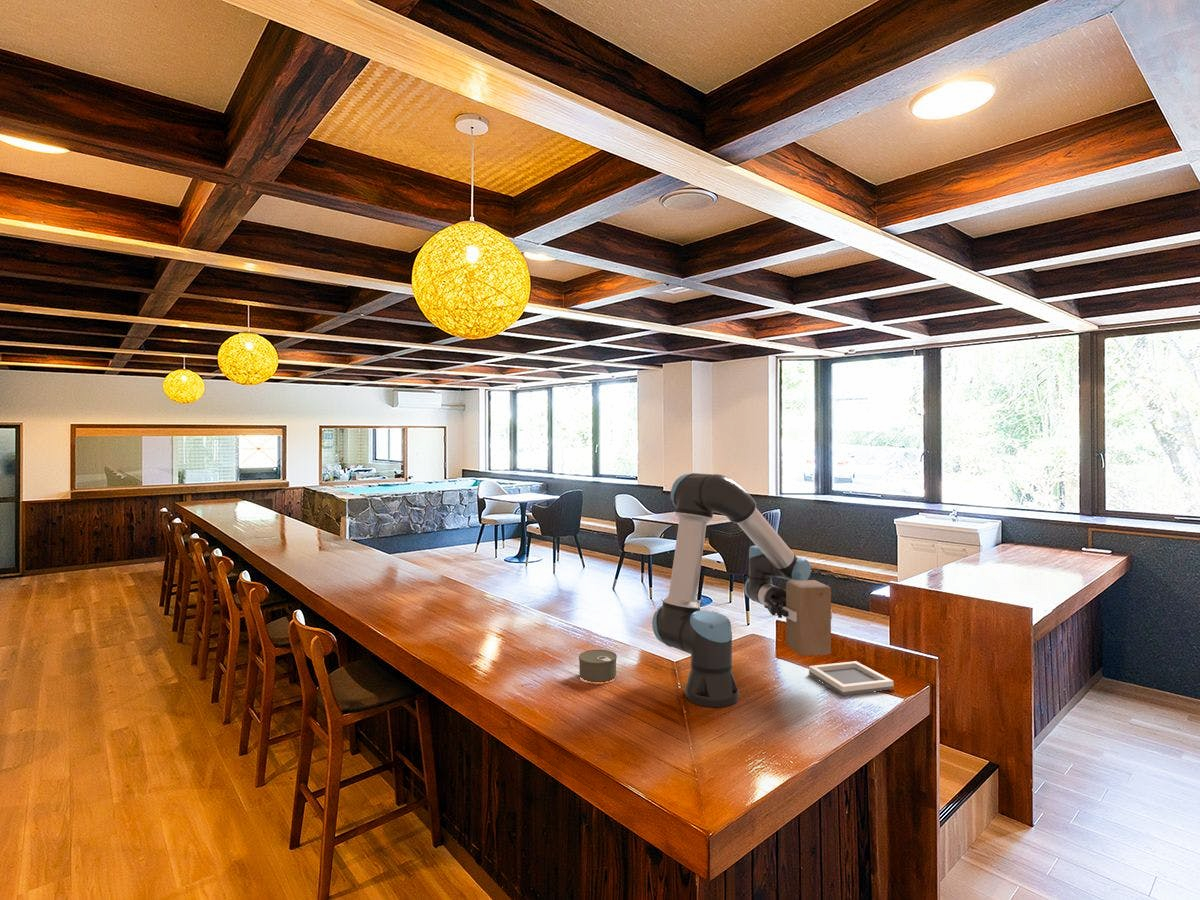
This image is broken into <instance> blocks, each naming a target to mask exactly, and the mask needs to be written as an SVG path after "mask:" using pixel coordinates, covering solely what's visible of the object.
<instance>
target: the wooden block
mask: <svg viewBox="0 0 1200 900" xmlns="http://www.w3.org/2000/svg"><path fill="white" fill-rule="evenodd" d="M785 586H786V587H785V590H786V607H787V608H789V609H791V610H793V611H795V612H797V622H794V621H792V620H790V619H788V618H786V617H785V620H786V621H785V639H786V640H785V641H786V642H785V644H786V646H787V647H788V648H789V649H791V650H792V651H794V652H795V653H796V654H798V655H799V656H819V655H820V656H821V655H822V656H823V655H830V654H831V653H832V619H831V610H832V587H831V586H829V585H827V584H824V583H822V582H820V581H818V580H815V579H807V580H787V581H786V585H785Z"/></svg>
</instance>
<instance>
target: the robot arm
mask: <svg viewBox="0 0 1200 900" xmlns="http://www.w3.org/2000/svg"><path fill="white" fill-rule="evenodd" d="M670 500H671V501H672V505H673V506H674V507H675V515H676V517H678V519H679V520H678V526H677V527H678V528H677V536H676V543H675V548H674V556H673V563H672V568H671V569H672V570H671V578H670V583H669V591H668V596H667V597H665V598H664V599H662V605H660V606H659V607H658V608H657V610H656V611H655V612H654V613H653V616H652V620H651V621H652V622H651V627H652V631H653V634H654V636H655V637H656V639H657V640H658V641H659V642H660V643H662V644H664V645H666V646H668V647H670V648H674V649H677V650H679V651H681V652H684V653H687V654H689V655H690V670H689V674H688V677H687V681H686V684H685V688H684V691H685V695H686V696H685V697H687V698H688V699H689V700H688V699H687V698H686V699H687V700H688V701H689V702H692V703H693V704H695V705H699V706H702V705H703V707H708V706H709V707H708V708H723V707H728V706H731V705H734V704H736V703H737V702H738V701H739V688H738V686H737V683H736V679H735V676H734V672H733V665H732V664H733V632H732V631H733V630H732V625H731V624H732V623H731V621H730V619H729V618H728V617H727V616H726V615H724V614H722V613H719V612H716V611H713V610H712V611H710V610H706V609H705V610H701V606H700V604H699V602H698V600H697V597H698V590H699V583H700V576H701V575H700V574H701V568H702V560H703V554H704V552H703V551H704V547H705V546H704V545H705V538H706V530H707V524H708V523H709V522H710V521H711V520H713V516H714V513H717V514H720V515H723V516H725V517H726V518H727V519H728V520H729V521H730V522H732V523H734V524H737V525H738V526H739V528H740V529H741V530H742V531H743V532H744V533H745V534H746V537H748V539H750V541H752V542H753V544H754V545H751V546H749V553H748V579H747V580H746V581H745V584H743V585H744V586H743V592H744V595H746V597H747V598H749V599H751V601H753V602H756V603H758V604H761V605H762V606H763V607H764V608H765V609H767V611H768V612H769V613H770V615H772V616H776V614H777V618H778V619H783V617H784V618H785V619H786V618H788V619H790V620H792V621H794V622H797V612H795V611H793V610H791V609H789V608H787V607H786V589H784V588H781V587H779V586H777V585H773V584H772V578H773V577H774V578H779V579H784V580H787V581H789V580H809V578H810V575H811V574H812V573H811V572H812V567H811V563H810V561H809V560H808V559H805V558H803V557H797V555H796V554H795V553H794V552H793V551H792V550H791V549H790V547H789V546H788V545H787V543H786V542H785V541H784V540H783V539H782V537H781V536H780V534H779V533H778V532H777V531H776V530H775V529H774V528H773V526H772V525H771V524H770V522H768V520H767V519H766V518H765V517H764V516H763V515H762V513H761V511H759V509H758V508H757V502H756V501H755V500H754V498H753V497H752V496H751V494H750V493H749V492H748V491H747V490H746V489H745V488H744V487H742V486H741V485H740V484H738V482H736V481H735V480H734V479H732V478H730V477H729V476H726V475H723V474H715V473H714V474H712V473H695V472H693V473H685V474H682V475H680V476H679V477H678V478H676V480H675V481H674V482H673V484H672V485H671V489H670ZM831 620H833V609H831Z"/></svg>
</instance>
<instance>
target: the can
mask: <svg viewBox="0 0 1200 900" xmlns="http://www.w3.org/2000/svg"><path fill="white" fill-rule="evenodd" d="M617 657H618V655H617V653H615V652H613V651H610V650H608V649H607V650H606V649H590V650H586V651H584V652H581V653H580V654H579V655H578V659H579V665H578V666H579V678H580V677H581V678H583V679H584V680H587V681H591V682H606V681H610V680H612V679H614V678H615V676H616V677H617Z"/></svg>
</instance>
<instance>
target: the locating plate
mask: <svg viewBox="0 0 1200 900" xmlns="http://www.w3.org/2000/svg"><path fill="white" fill-rule="evenodd" d="M809 674H810V675H812V676H813V677H812V676H811V677H812V678H814V677H815V678H816V679H815V678H814V679H815V680H817V679H818V680H820V681H821V682H823V683H824V684H823V683H822V684H823V685H824V686H826V685H827V686H826V687H828V686H829V687H830V688H829V687H828V688H829V689H831V690H832V689H833V691H834V692H836V693H837V694H839V695H840V696H842V697H846V696H847V695H849V696H855V695H854V694H857V695H862V694H861V693H865V694H869V693H868V692H874V691H880V690H889V689H895V688H894V680H893V679H891V678H889V677H887V676H885V675H883V674H881V673H879V672H877V671H875V670H873V669H872V668H870V667H868V666H866V665H864V664H862V663H860V662H859V661H857V660H854V661H844V662H836V663H826V664H815V665H809V666H808V675H809ZM810 675H809V676H810ZM818 680H817V681H818ZM820 681H819V682H820ZM821 682H820V683H821ZM874 693H875V692H874ZM847 697H848V696H847Z"/></svg>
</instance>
